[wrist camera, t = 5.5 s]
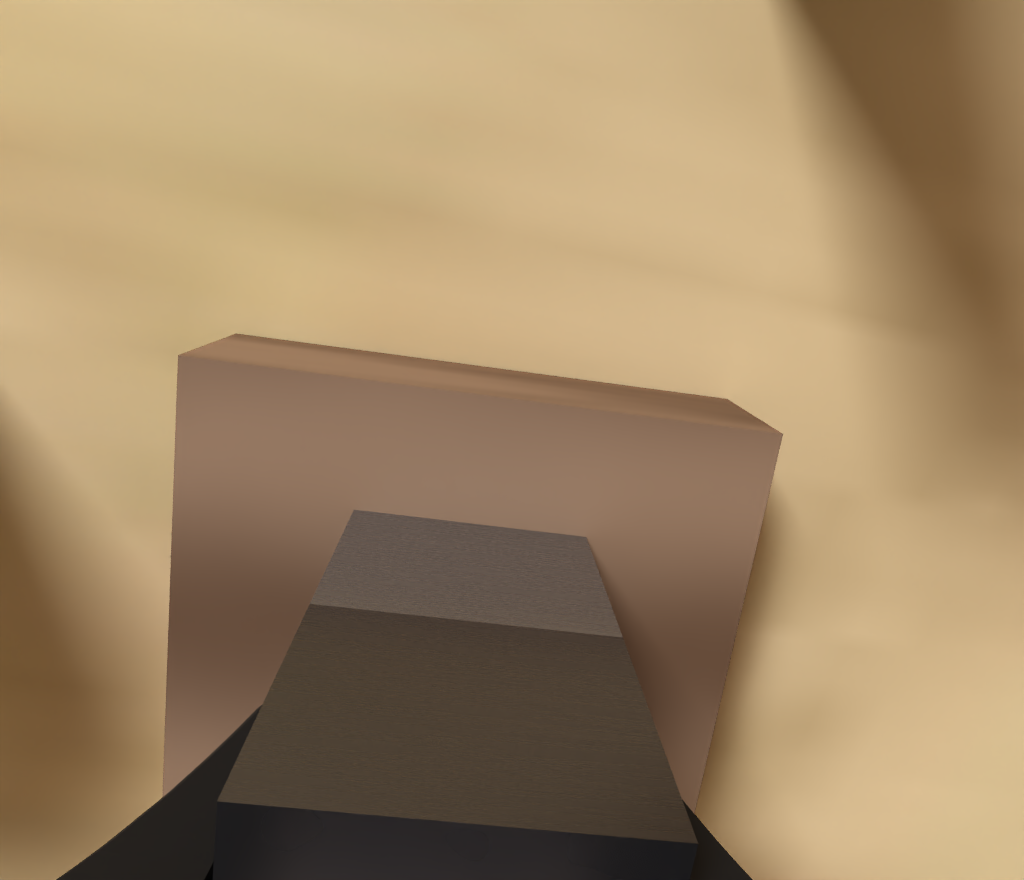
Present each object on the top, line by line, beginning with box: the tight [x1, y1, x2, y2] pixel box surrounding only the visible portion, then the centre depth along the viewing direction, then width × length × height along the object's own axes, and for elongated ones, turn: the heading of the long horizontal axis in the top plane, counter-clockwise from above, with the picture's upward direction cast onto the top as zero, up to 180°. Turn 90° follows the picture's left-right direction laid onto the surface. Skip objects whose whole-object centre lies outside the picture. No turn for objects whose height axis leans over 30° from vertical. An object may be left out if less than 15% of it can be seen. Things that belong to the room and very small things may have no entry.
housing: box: [213, 510, 698, 880], centre depth 10 cm, size 6×4×8 cm, turn 172°
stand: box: [163, 334, 783, 813], centre depth 15 cm, size 10×10×3 cm
